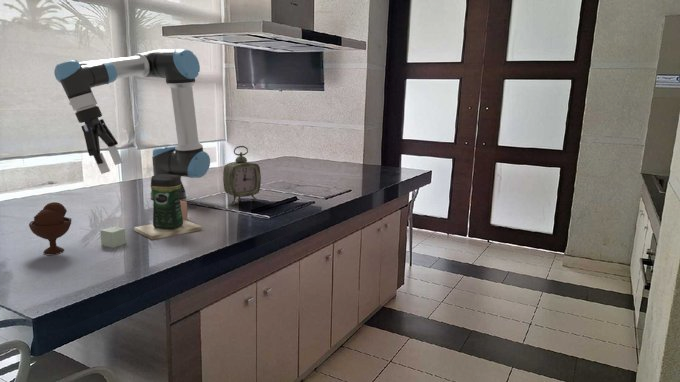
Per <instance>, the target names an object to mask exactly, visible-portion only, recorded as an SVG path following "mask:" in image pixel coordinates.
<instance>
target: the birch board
mask: <svg viewBox="0 0 680 382" xmlns="http://www.w3.org/2000/svg"><path fill="white" fill-rule="evenodd" d="M133 229H134V231H135V232H136V233H138V234H140V235H142V236H144V237H146V238H148V239H150V240H151V241H152V240H157V239H162V238H168V237H172V236H177V235H182V234H183V235H184V234H187V233H193V232H197V231H203V228H202V226H201V225H198V224H196V223H194V222H192V221H189V220H185V219H183V224H182V226H181V227H179V228H174V229H160V228H155V227H154V226H153V223H150V224H145V225H140V226H134V227H133Z"/></svg>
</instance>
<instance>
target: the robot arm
mask: <svg viewBox="0 0 680 382" xmlns="http://www.w3.org/2000/svg"><path fill="white" fill-rule="evenodd" d="M200 70H201V67H200V62H199V59H198V57H197V55H196V54H194V52H193V51H192V50H189V49H186V48H185V49H183V48H174V49H173V48H170V49H167V48H166V49H165V48H164V49H162V48H161V49H155V50H150V51H146V52H140V53H139V52H137V53H134V54H133V56H127V57H126V56H124V57H115V58H107V59H95V60H86V61H79V60H77V59H72V60H69V61H64V62H60V63H59V64H56V66H55V68H54V77H55V80H57V82H58V83H59V84H61V86H62V88H63V91H64V92H65V94H66V96H67V98H68V100H69V101H68V104H69V105H70V106H71V108H72V110H73V111H75V113H74V114H75V117H76V119H77V121H78V123H79V124H82V123H84V125H81V130H82V133H83V137H84V140H85V144H86V149H87V154H88V155H89V157H93V158H94V160H95V163H96V165H97V168H98V169H99V173H101V175H102V174H106V173H109V172H111V169H110V167H109V164H108V163H107V161H106V158H105V156H104V154H103V152H101V148H100V139H101V141H103V143H104V144H105V145H106V146H107V150H108V152H109V155H110V157H111V159H112V161H113V164H114V166H116V165H119V164H123V163H124V162H123V159H122V157H121V155H120V153H119V150H118V147H117V146H118V141H117V139H116V137H114V135H113V133H112V132H111V130H110V129H109V127H108V126H107V124H106V122H105V120H104V119H103V118H101V117H103V113H102V110H101V109H100V106H98V105H97V104H98V102H97V100H96V97H95V95H94V93H93V91H92V88H96V87H100V86H104V85H109V84H111V83H115V81H116V80H117V79H123V78H131V77H138V78H158V79H165V84H166V85H167V86H169V87H170V92H171V99H172V100H171V101H172V109H173V117H174V123H175V131H176V137H177V145H170V146H163V147H155V148H154V149H152V157H151V159H152V160H151V161H152V171H153V176H154V175H158V174H169V175H179V177H180V181H181V188H180V200H182V199H184V198H186V197H187V193H186V189H185V186H184V183H183V182H182V181H183V180H182V177H183V178H184V177H185V178H191V179H194V178H196V179H197V178H202V177H204V176H205V175H206V174H207V172H208V171H209V168H210V166H211V158H210V155H209V154H208V153H207V152H206V151H204V146H203V144H201V142H200V141H199V134H198V127H197V126H198V125H197V118H196V117H197V116H196V108H195V100H194V92H193V86H194V84H195V83H196V78H197V77H198V76H199V75H200ZM99 118H101V119H99ZM150 199H151V200H153V192H152V189H151V191H150Z"/></svg>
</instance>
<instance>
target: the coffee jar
mask: <svg viewBox="0 0 680 382" xmlns="http://www.w3.org/2000/svg"><path fill="white" fill-rule="evenodd" d="M181 181H182V180H181ZM181 181H180V177H179V175H169V174H158V175H154V174H153V175H152V176H151V177H150V189H151V190H152V192H153V199H152V201H153V203H152V204H153V207H152V209H153V210H152V224H153V226H154V227H155V228H160V229H174V228H179V227H181V226H182V224H183V217H182V211H181V204H180V200H181V199H180V188H181Z"/></svg>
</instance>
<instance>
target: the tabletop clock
mask: <svg viewBox="0 0 680 382" xmlns="http://www.w3.org/2000/svg"><path fill="white" fill-rule="evenodd" d="M240 148H245V149H246V152H244V153H243V152H241V151H240V152H239V153H236V150H237V149H240ZM248 152H249V149H248V147H246V146H245V145H239V146H236V147H234V149H233V154H234V155H235V156H237V157H236V158H235V160H234V161H232V162H228V163H225V165H224V167H223V175H222V177H223V178H222V179H223V180H222V181H223V188H224V189H223V190H224V193H226V194H228V195H231V196H233V200H232V201H231V204H232V205H233V206H234V205H236V203H237V202H236V201H238V202H241V201H242V198H243V197H245V198H246V197H250V196H251V197H252V198H253V199H252V200H253V202H258V201H257V200H258V198H257V197H255V196H254V195H257V194H259V193H260V190H261V184H262V182H261V181H262V178H261V175H262V173H261V168H260V166H259V164H257V163H254V162H249V161H248V159H247V157H246V156H245V155H247V154H248ZM236 198H237V200H236Z"/></svg>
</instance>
